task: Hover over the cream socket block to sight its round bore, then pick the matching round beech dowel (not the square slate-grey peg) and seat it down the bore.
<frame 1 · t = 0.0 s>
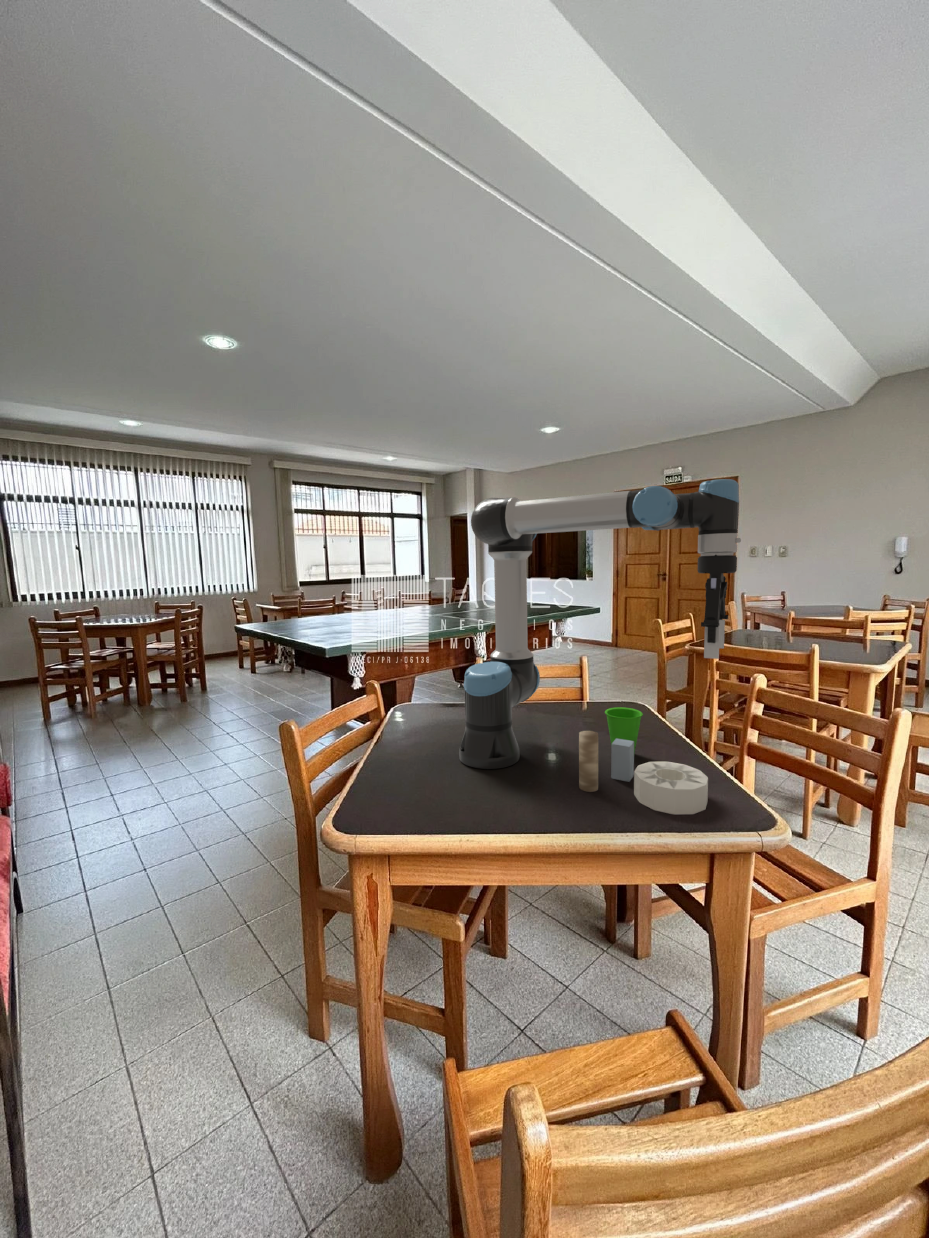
hand: (714, 652, 109), 28 cm above the table, fingers open, 13 cm apart
socket: (670, 797, 103), on the table
square peg: (622, 776, 113), on the table
dowel: (588, 787, 108), on the table
cup: (623, 755, 126), on the table
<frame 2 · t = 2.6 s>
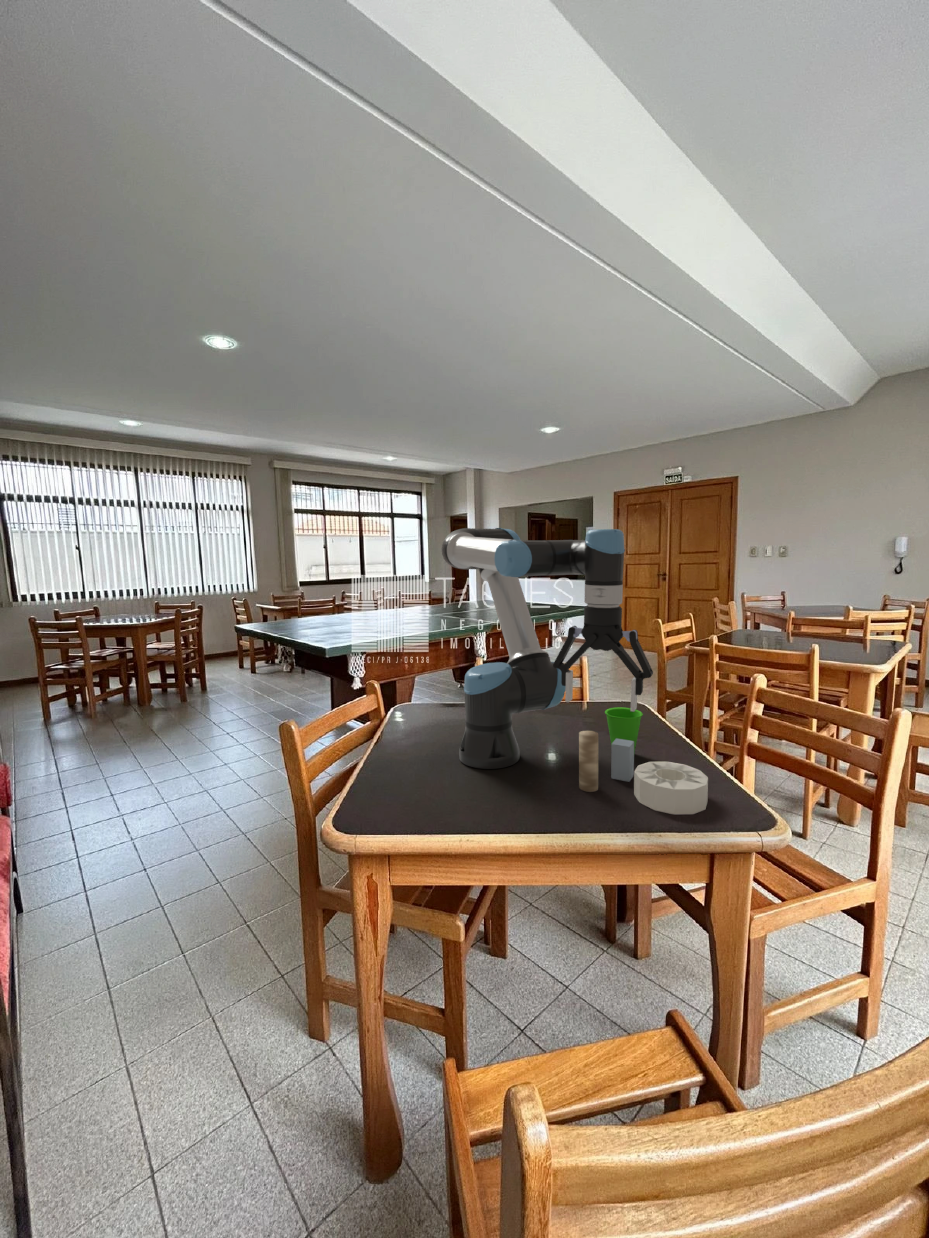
hand: (600, 705, 106), 18 cm above the table, fingers open, 13 cm apart
nothing on the table moved.
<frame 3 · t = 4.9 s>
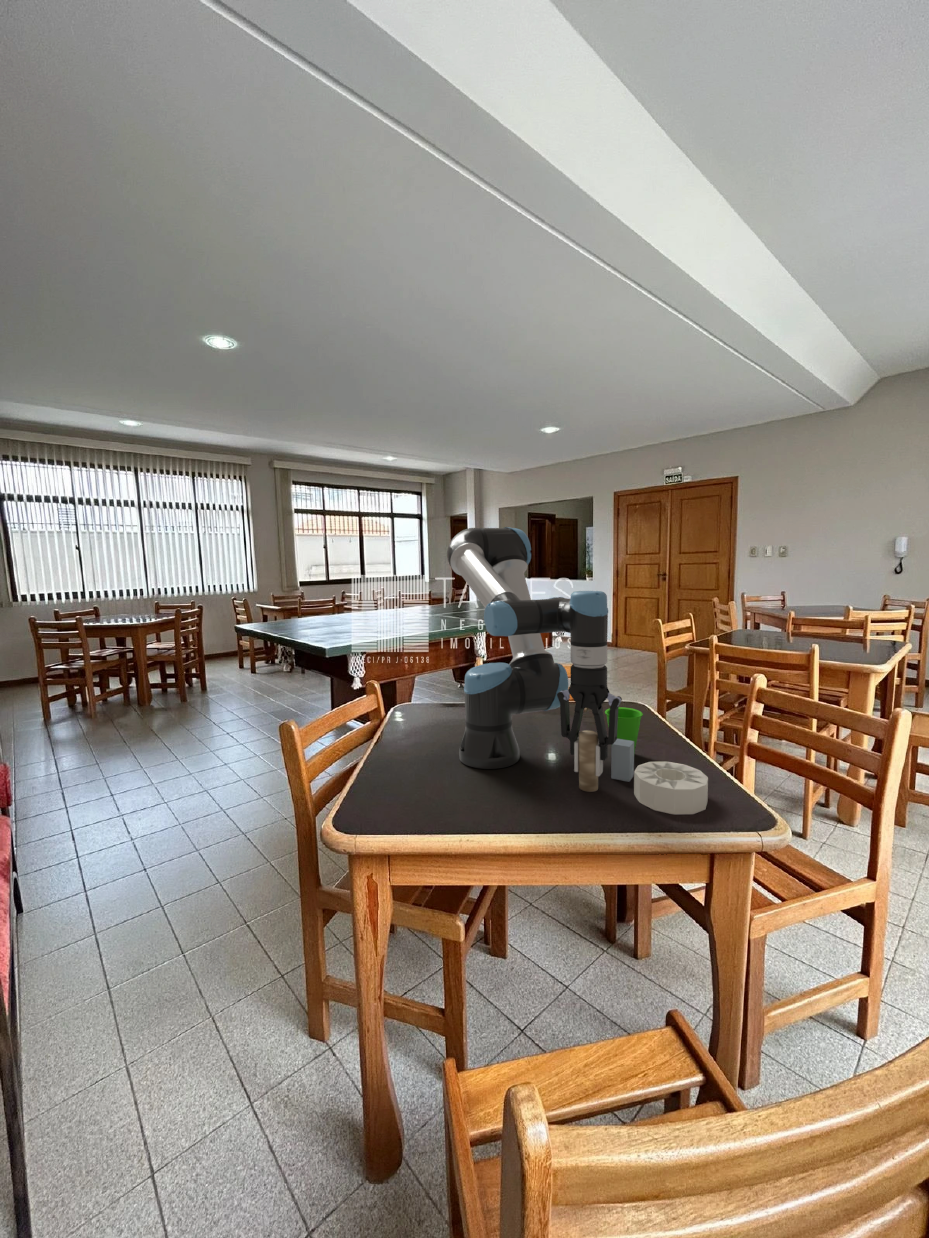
hand: (588, 771, 108), 4 cm above the table, fingers closed on dowel, 4 cm apart
dowel: (588, 787, 108), on the table, touching gripper
everything else where it was.
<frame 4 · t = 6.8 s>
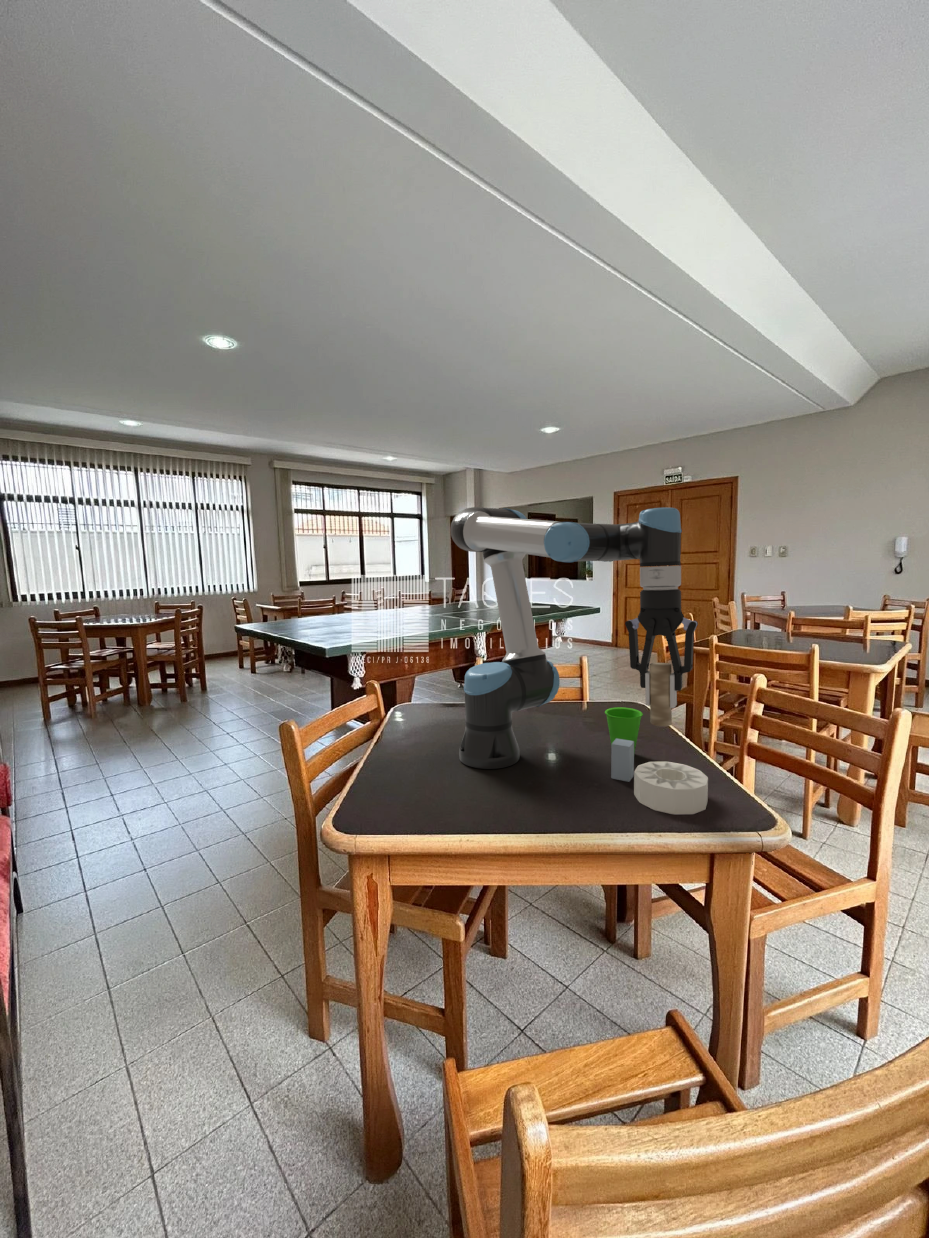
hand: (661, 704, 101), 20 cm above the table, fingers closed on dowel, 4 cm apart
dowel: (660, 723, 101), point 16 cm above the table, touching gripper
everything else where it was.
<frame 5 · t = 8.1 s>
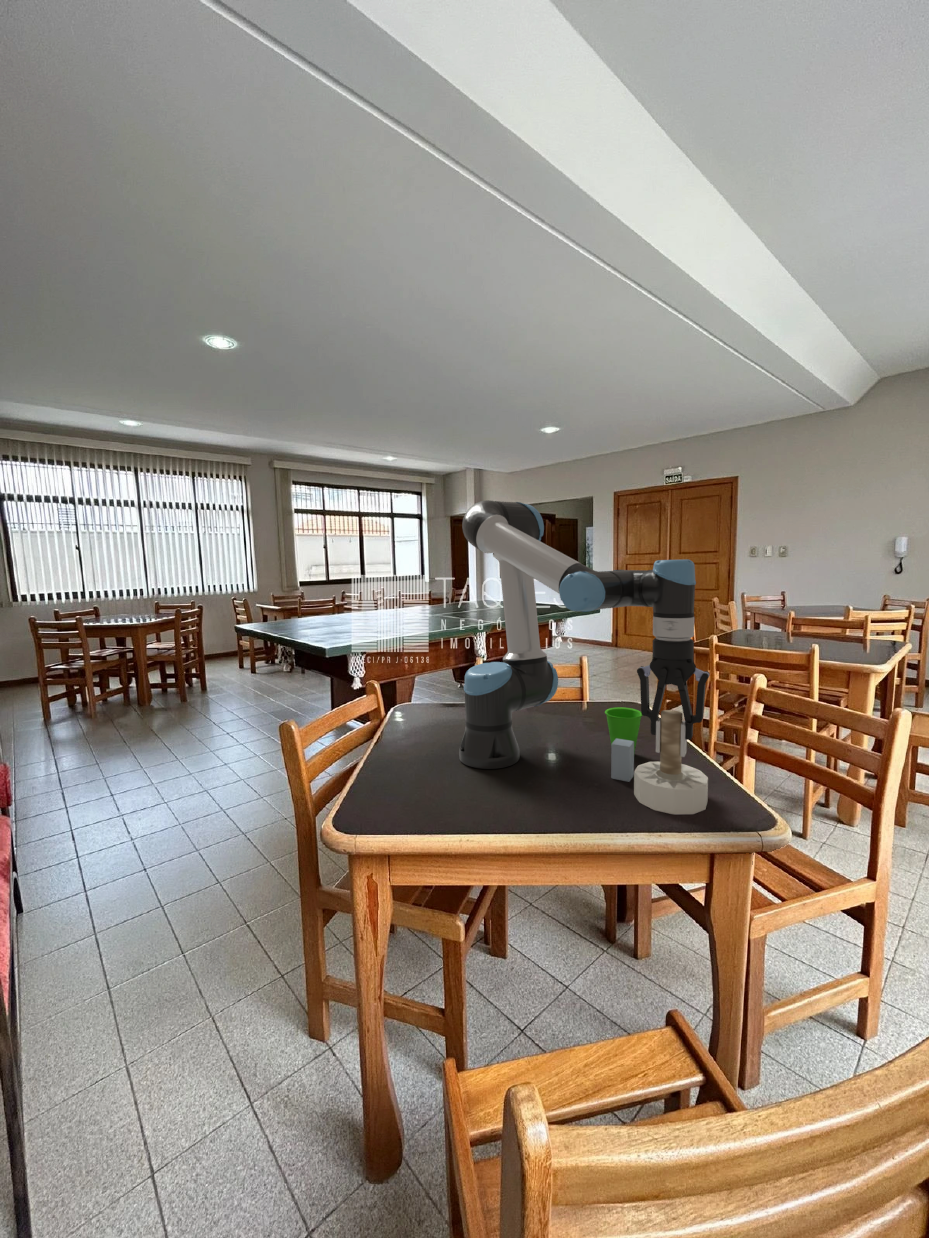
hand: (671, 752, 102), 10 cm above the table, fingers closed on dowel, 4 cm apart
dowel: (670, 770, 102), point 6 cm above the table, touching gripper
everything else where it was.
when the fingers open (6 cm above the table, at t = 9.0 s): dowel drops 3 cm, resting in socket.
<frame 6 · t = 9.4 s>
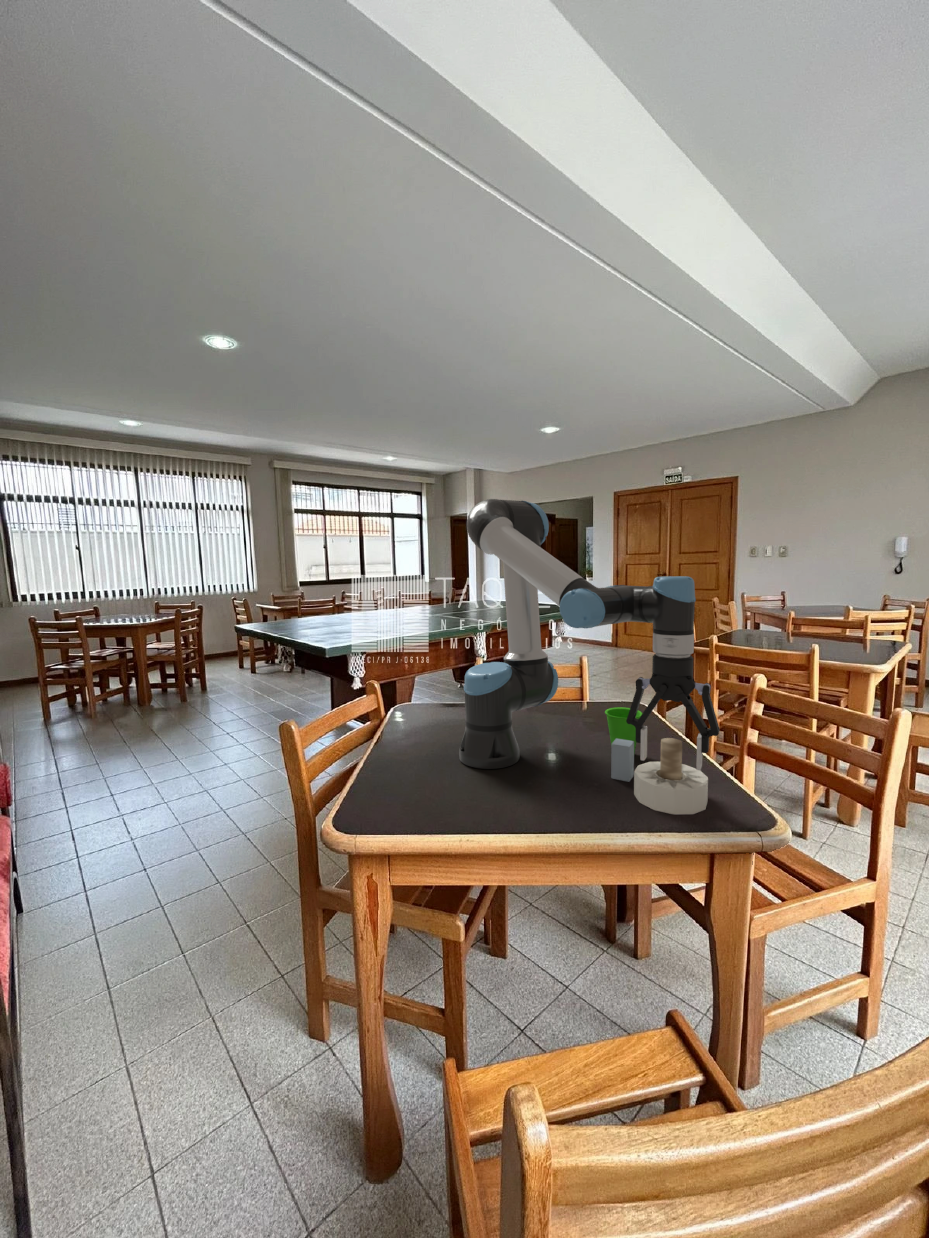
hand: (670, 762, 102), 7 cm above the table, fingers open, 10 cm apart
dowel: (670, 798, 103), resting in socket
everything else where it was.
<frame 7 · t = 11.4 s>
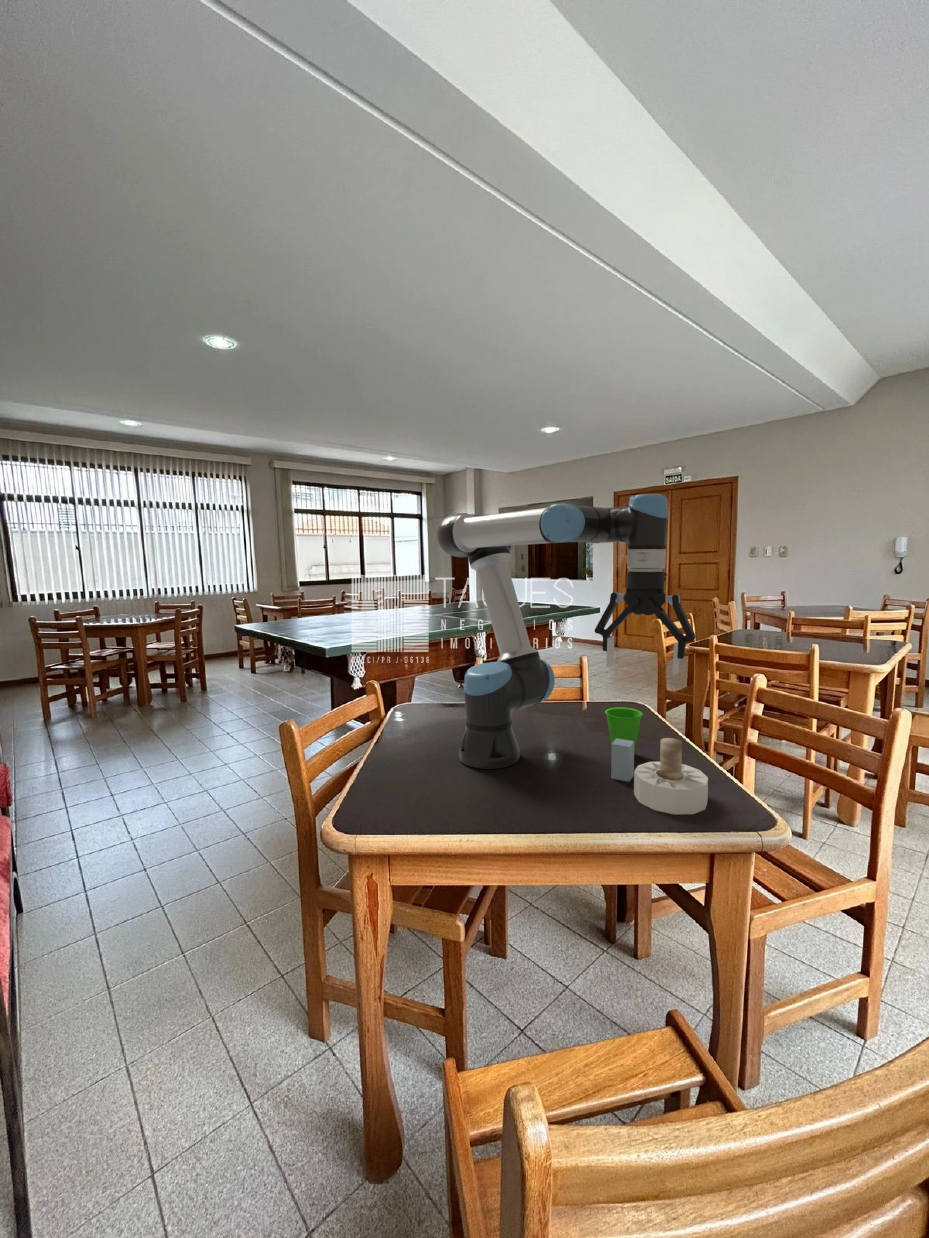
hand: (641, 669, 108), 25 cm above the table, fingers open, 13 cm apart
nothing on the table moved.
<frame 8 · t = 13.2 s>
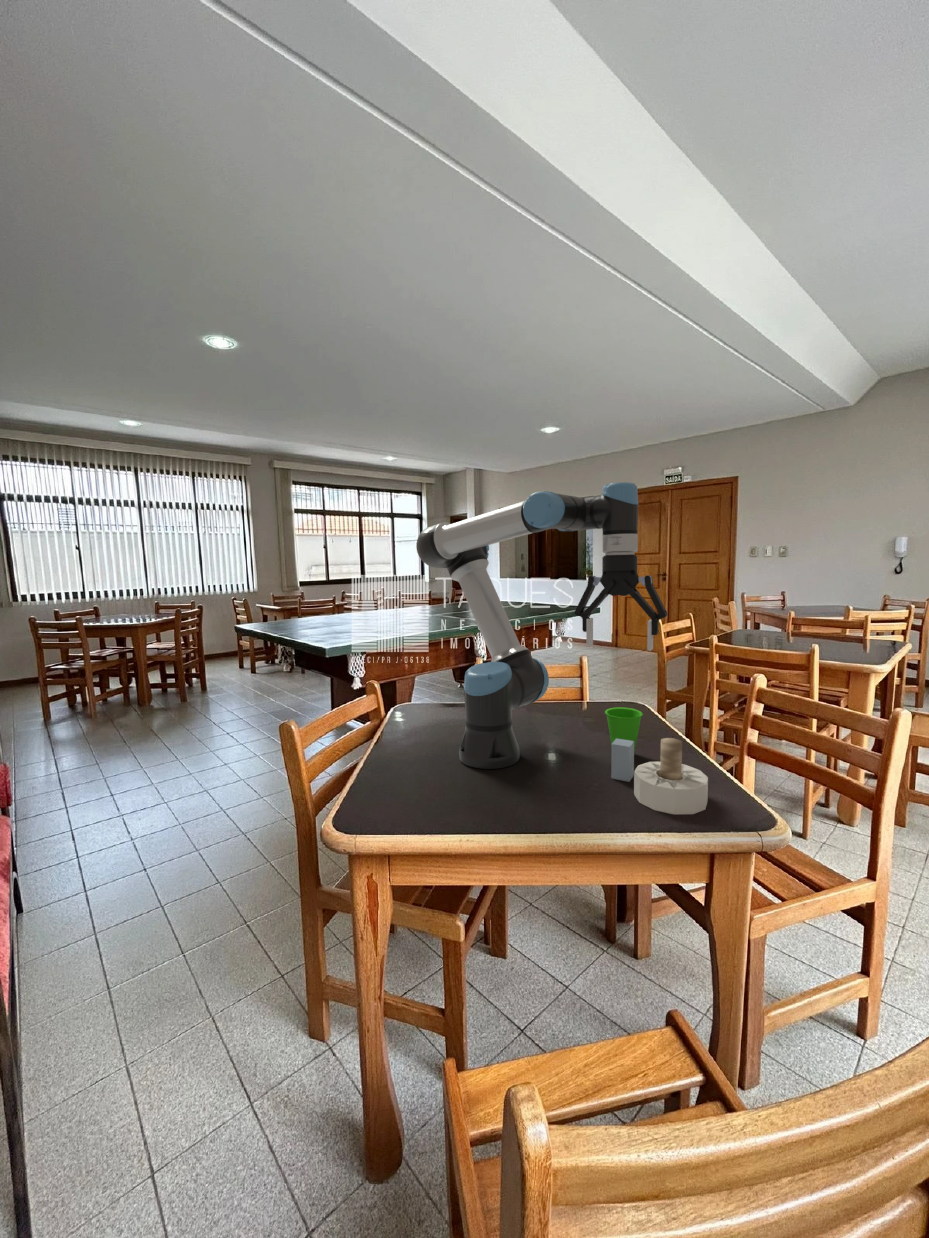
hand: (619, 647, 115), 29 cm above the table, fingers open, 13 cm apart
nothing on the table moved.
at the end: dowel 0.1 cm off-centre on the socket, point 0.0 cm above the socket's base; dowel tilted 0°; the gripper is holding nothing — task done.
